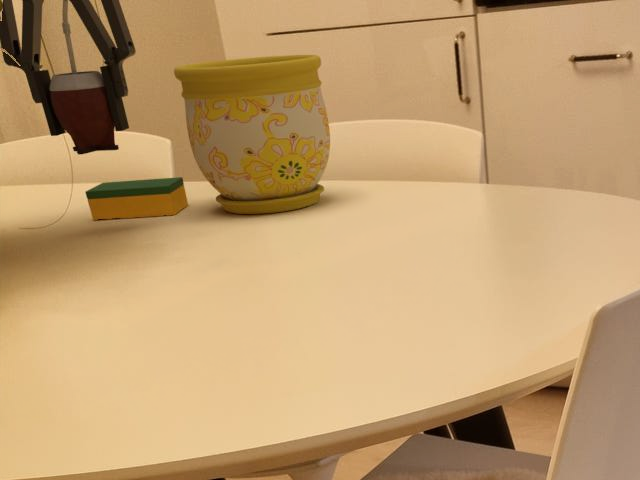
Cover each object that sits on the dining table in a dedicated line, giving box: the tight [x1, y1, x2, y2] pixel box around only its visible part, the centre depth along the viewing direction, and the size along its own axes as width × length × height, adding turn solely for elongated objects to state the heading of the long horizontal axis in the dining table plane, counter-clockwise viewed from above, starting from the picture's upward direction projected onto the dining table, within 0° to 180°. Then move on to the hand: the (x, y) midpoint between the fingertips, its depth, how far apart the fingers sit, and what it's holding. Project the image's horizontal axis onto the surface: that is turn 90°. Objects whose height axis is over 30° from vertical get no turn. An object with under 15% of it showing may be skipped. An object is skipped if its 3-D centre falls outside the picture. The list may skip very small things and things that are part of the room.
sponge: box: [85, 176, 189, 221], centre depth 126 cm, size 11×7×4 cm, turn 90°
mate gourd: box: [49, 0, 120, 156], centre depth 109 cm, size 8×8×15 cm
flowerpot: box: [173, 54, 331, 215], centre depth 121 cm, size 18×18×16 cm
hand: (90, 131), depth 112 cm, fingers closed on mate gourd, 7 cm apart
